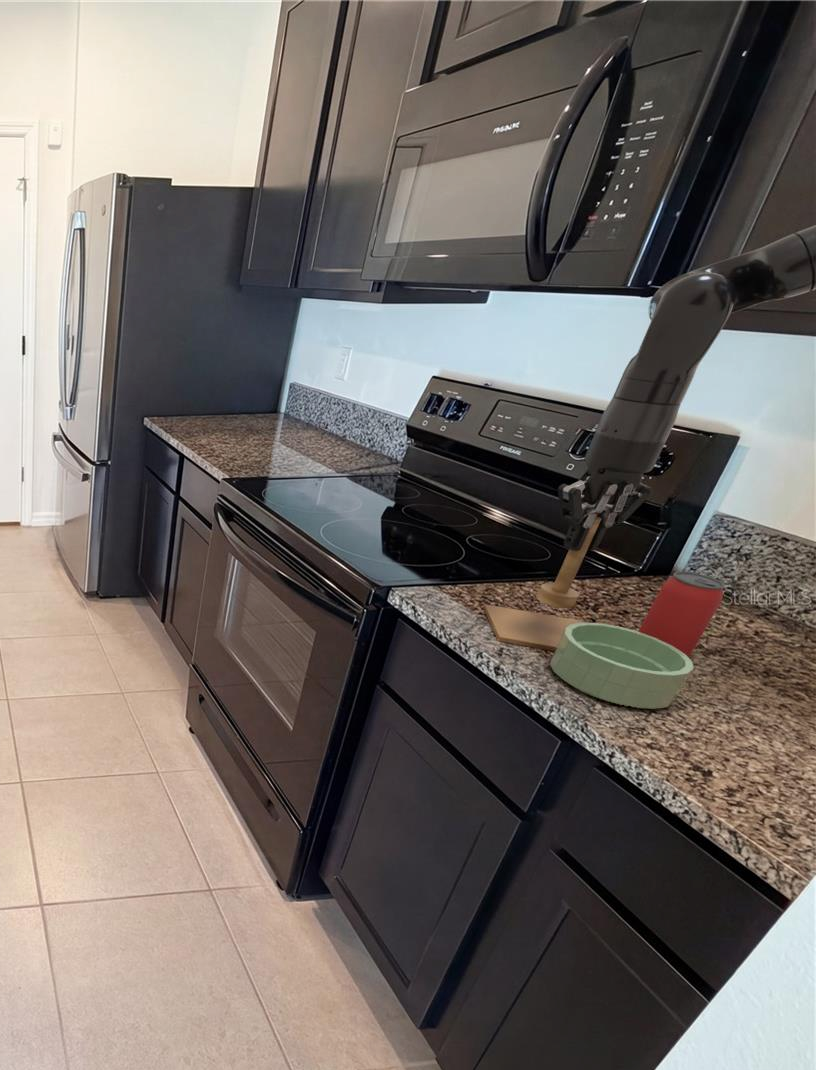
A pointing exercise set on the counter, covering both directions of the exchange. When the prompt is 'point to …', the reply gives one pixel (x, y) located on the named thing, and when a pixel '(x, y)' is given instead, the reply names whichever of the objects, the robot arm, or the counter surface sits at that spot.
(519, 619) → the plate
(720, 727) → the counter surface
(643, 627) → the beer can
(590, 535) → the muddler
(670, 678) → the bowl
